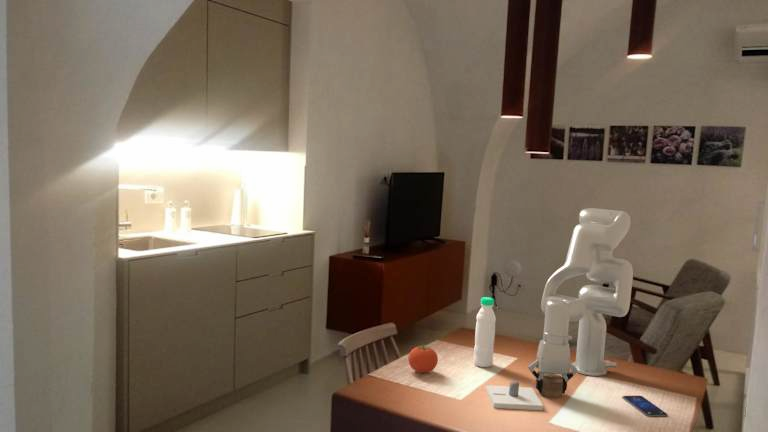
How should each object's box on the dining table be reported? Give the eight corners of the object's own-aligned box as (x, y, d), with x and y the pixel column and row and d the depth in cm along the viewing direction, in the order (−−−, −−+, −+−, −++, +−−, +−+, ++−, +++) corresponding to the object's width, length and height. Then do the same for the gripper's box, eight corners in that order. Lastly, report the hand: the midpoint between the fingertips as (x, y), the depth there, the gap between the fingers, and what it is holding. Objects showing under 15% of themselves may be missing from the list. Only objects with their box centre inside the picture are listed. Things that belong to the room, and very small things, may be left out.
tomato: (435, 367, 211) (437, 340, 210) (437, 378, 201) (439, 350, 200) (407, 366, 211) (408, 339, 210) (407, 376, 201) (409, 348, 200)
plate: (531, 392, 193) (532, 375, 193) (542, 410, 179) (544, 392, 179) (485, 389, 193) (486, 373, 193) (493, 407, 179) (494, 390, 179)
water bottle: (469, 362, 219) (473, 296, 216) (485, 360, 222) (489, 295, 219) (480, 369, 213) (485, 300, 210) (496, 367, 216) (501, 299, 213)
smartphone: (647, 415, 179) (620, 395, 193) (647, 418, 179) (620, 398, 193) (669, 415, 180) (641, 395, 194) (669, 418, 180) (641, 397, 195)
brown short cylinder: (558, 390, 196) (559, 373, 195) (564, 399, 189) (565, 381, 188) (537, 389, 196) (538, 372, 195) (542, 398, 189) (544, 380, 188)
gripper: (578, 336, 194) (573, 388, 196) (525, 333, 194) (521, 385, 196) (586, 343, 187) (581, 397, 189) (531, 340, 187) (526, 394, 189)
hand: (550, 391), depth 192 cm, fingers closed on brown short cylinder, 6 cm apart
